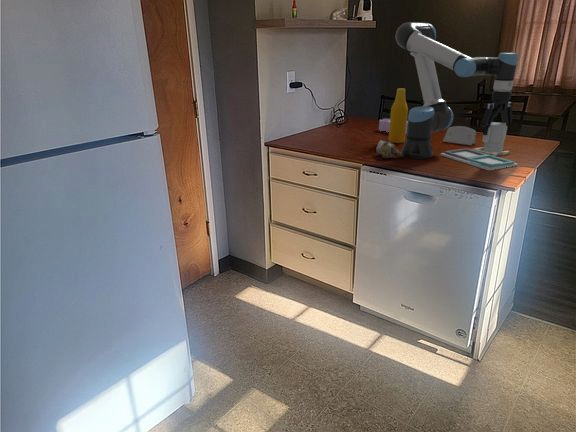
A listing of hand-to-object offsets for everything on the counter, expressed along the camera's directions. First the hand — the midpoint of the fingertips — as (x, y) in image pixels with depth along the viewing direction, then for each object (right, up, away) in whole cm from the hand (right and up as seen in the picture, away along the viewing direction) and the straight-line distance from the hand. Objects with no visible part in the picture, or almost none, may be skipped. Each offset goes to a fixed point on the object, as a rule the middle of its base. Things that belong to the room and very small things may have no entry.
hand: (493, 140), depth 199 cm
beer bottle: (-32, +8, +49) cm, 59 cm away
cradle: (+9, -2, +24) cm, 26 cm away
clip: (-27, +18, +74) cm, 81 cm away
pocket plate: (-3, -8, +10) cm, 13 cm away
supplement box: (0, -5, +1) cm, 5 cm away
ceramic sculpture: (-45, -5, +17) cm, 48 cm away
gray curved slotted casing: (+3, +7, +47) cm, 47 cm away
